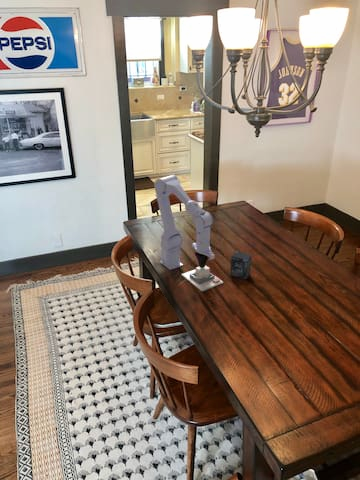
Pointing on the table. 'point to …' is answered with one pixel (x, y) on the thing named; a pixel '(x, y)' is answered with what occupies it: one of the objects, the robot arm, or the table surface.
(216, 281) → the socket plate
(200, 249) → the robot arm
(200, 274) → the plug
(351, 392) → the table surface
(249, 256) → the box
